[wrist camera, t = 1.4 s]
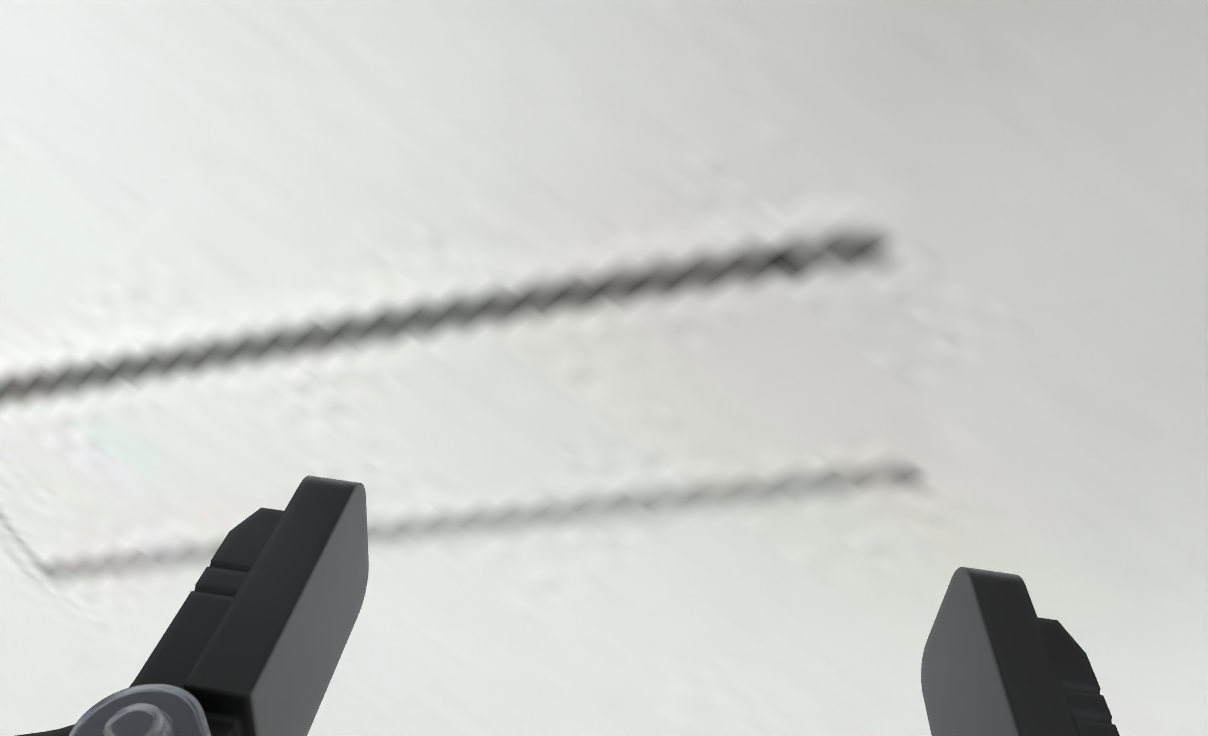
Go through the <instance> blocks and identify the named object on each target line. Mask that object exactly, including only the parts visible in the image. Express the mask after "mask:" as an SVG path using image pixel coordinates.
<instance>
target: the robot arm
mask: <svg viewBox="0 0 1208 736" xmlns="http://www.w3.org/2000/svg"><path fill="white" fill-rule="evenodd" d="M368 569H369V561H368V537H367V514H366V494H365V488H364V485H363V484H362V483H357V482H350V481H343V480H336V479H329V478H322V477H315V476H307V477H305V478H304V479H303V480H302V482H301V483H300V485H299V487H298V488H297V490H296V492H295V494H294V495H293V497H292V499H291V500H290V502H289V504H288V506H287V507H286V509H285V511H281V510H274V509H267V508H260V509H259V510H258V511H256V512H255V513H254V514H252V515H251V516H249V517H248V518H247V519H245V520H244V521H243V522H241V523H240V524H239V525H237V526H236V527H235V528H233V529H232V530H231V531H230V532H229V533H228V535H227V536H226V538H225V539H224V541H223V543H222V544H221V546H220V547H219V549H218V550H217V552H216V554H215V555H214V557H213V558H212V560H211V564H210V567H207V568H206V569H205V571H204V572H203V574H202V575H201V577H200V579H199V580H198V582H197V583H196V586H195V590H194V591H191V593H190V594H189V596H188V597H187V599H186V601H185V602H184V604H183V605H182V607H181V608H180V610H179V611H178V613H177V615H176V616H175V618H174V619H173V621H172V622H171V624H170V626H169V627H168V629H167V630H166V632H165V633H164V635H163V637H162V638H161V640H160V641H159V643H158V644H157V646H156V648H155V649H154V651H153V652H152V654H151V655H150V657H149V658H148V660H147V662H146V663H145V665H144V666H143V668H142V669H141V671H140V673H139V674H138V676H137V677H136V679H135V680H134V682H133V683H132V684H131V686H130V687H129V688H127V689H124V690H121V691H119V692H116V693H114V694H112V695H110V696H108V697H106V698H104V699H103V700H101V701H100V702H98V703H97V704H95V705H94V706H93V707H91V708H90V709H89V710H88V711H87V712H86V713H85V714H84V715H83V716H82V717H81V718H80V719H79V720H78V722H77V723H76V724H74V725H71V726H68V727H64V728H61V729H57V730H52V731H46V732H39V733H32V734H24V735H17V736H307V734H308V732H309V730H310V727H311V725H312V723H313V720H314V718H315V716H316V713H317V711H318V709H319V706H320V704H321V701H322V699H323V697H324V694H325V692H326V690H327V687H328V685H329V683H330V680H331V678H332V676H333V673H334V671H335V669H336V666H337V664H338V661H339V659H340V657H341V654H342V652H343V650H344V647H345V645H346V643H347V640H348V638H349V636H350V633H351V631H352V629H353V626H354V624H355V621H356V619H357V617H358V614H359V612H360V609H361V606H362V603H363V600H364V596H365V592H366V586H367V580H368ZM921 683H922V692H923V697H924V702H925V706H926V711H927V715H928V720H929V725H930V729H931V734H932V736H1120V735H1119V733H1118V731H1117V728H1116V726H1115V725H1113V724H1112V722H1111V719H1112V716H1111V713H1110V711H1109V709H1108V706H1107V704H1106V701H1105V699H1104V696H1103V695H1100V687H1099V684H1098V682H1097V679H1096V677H1095V674H1094V672H1093V669H1092V667H1091V664H1090V662H1089V660H1088V657H1087V655H1086V653H1085V652H1084V651H1083V649H1082V648H1081V647H1080V646H1079V645H1078V644H1077V642H1076V641H1075V640H1074V639H1073V638H1072V637H1071V636H1070V634H1069V633H1068V632H1067V631H1066V630H1065V629H1064V627H1063V626H1062V625H1061V624H1060V623H1059V622H1058V621H1057V620H1051V619H1044V618H1037V615H1036V613H1035V610H1034V607H1033V604H1032V602H1031V599H1030V596H1029V594H1028V591H1027V588H1026V586H1025V583H1024V581H1023V580H1022V578H1021V577H1020V576H1018V575H1015V574H1008V573H1001V572H994V571H987V570H980V569H973V568H966V567H960V568H958V569H957V570H956V571H955V573H954V574H953V577H952V579H951V581H950V584H949V586H948V589H947V591H946V594H945V596H944V599H943V602H942V604H941V607H940V609H939V612H938V614H937V617H936V619H935V622H934V624H933V627H932V629H931V632H930V634H929V637H928V639H927V642H926V645H925V648H924V653H923V658H922V668H921Z"/></svg>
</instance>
